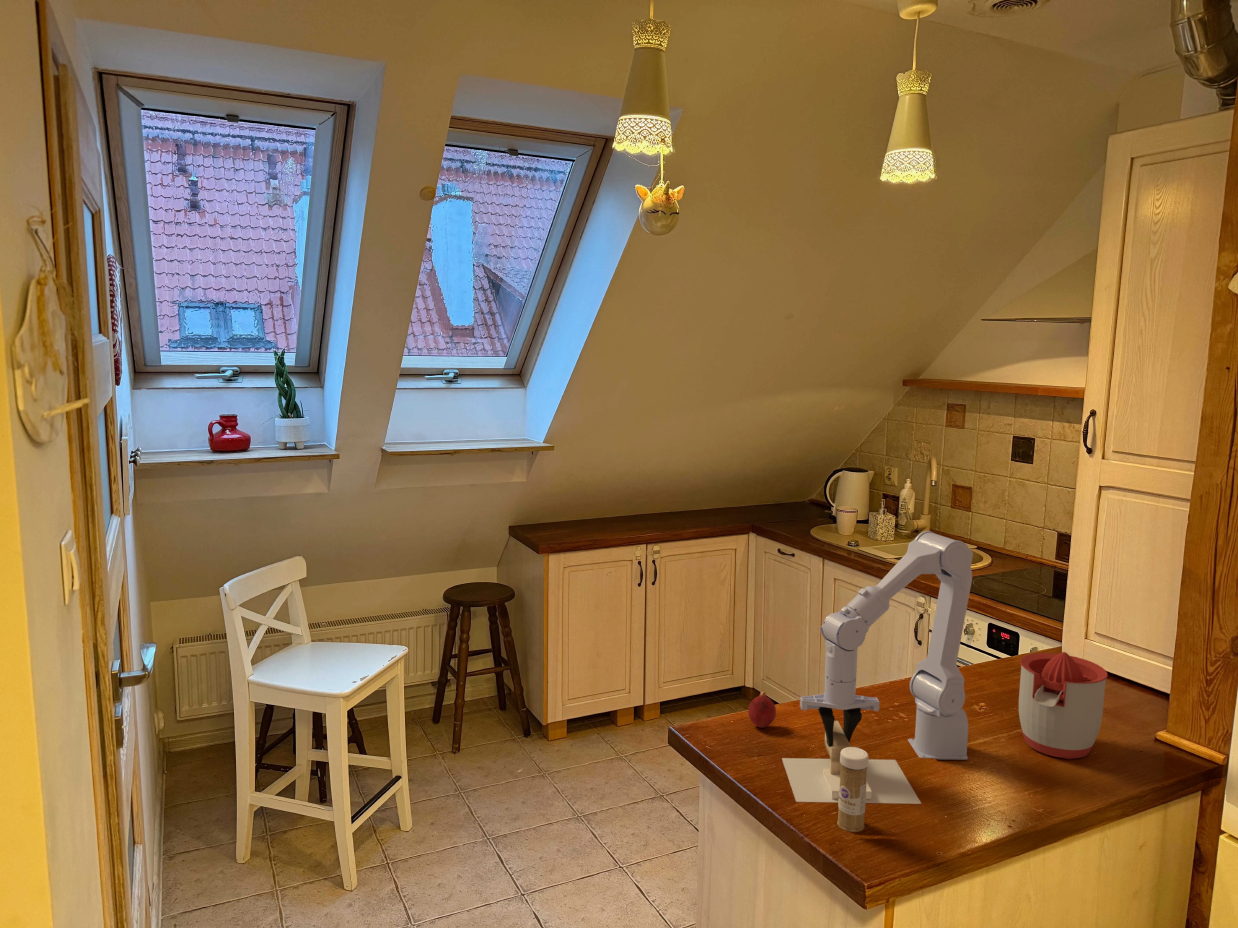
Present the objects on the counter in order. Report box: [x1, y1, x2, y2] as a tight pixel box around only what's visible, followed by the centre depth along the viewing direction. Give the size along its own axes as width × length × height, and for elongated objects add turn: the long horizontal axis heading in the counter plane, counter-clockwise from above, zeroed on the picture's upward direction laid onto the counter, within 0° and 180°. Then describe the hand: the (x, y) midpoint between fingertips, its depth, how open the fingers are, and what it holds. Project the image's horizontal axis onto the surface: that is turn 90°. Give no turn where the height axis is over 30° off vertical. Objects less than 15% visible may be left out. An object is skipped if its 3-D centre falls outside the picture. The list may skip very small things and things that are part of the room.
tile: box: [823, 769, 872, 799], centre depth 159 cm, size 7×2×8 cm
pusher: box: [824, 720, 859, 774], centre depth 167 cm, size 5×12×5 cm, turn 179°
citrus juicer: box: [1018, 651, 1109, 760], centre depth 175 cm, size 16×17×20 cm
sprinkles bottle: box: [836, 746, 869, 833], centre depth 147 cm, size 5×5×13 cm
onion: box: [747, 691, 777, 729], centre depth 184 cm, size 6×6×8 cm
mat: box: [781, 757, 922, 805], centre depth 162 cm, size 22×16×1 cm
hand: (837, 744), depth 167 cm, fingers closed on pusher, 2 cm apart
